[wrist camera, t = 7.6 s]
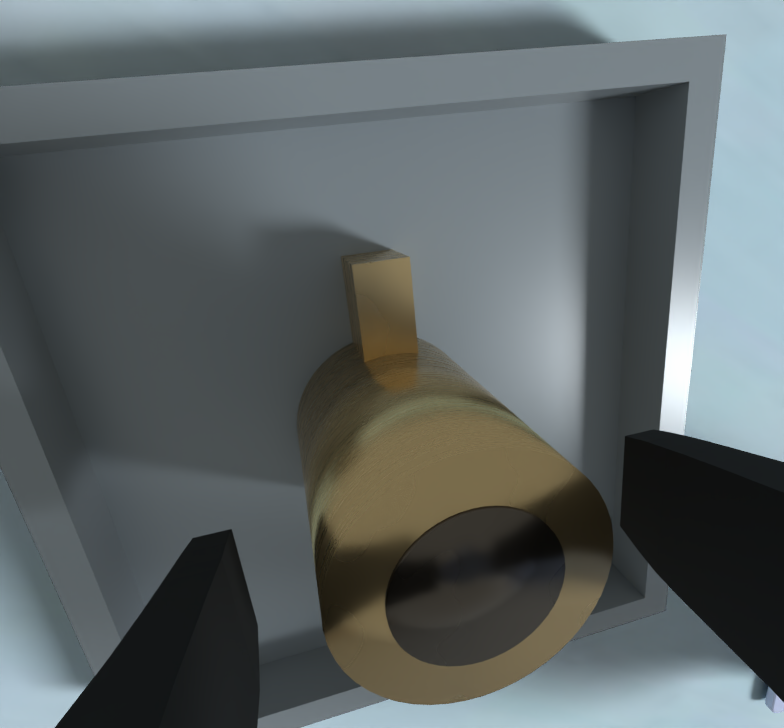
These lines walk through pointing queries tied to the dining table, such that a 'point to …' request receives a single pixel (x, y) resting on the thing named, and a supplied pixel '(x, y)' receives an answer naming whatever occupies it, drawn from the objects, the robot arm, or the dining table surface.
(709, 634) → the dining table surface
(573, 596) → the brass short cylinder
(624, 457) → the robot arm
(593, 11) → the dining table surface
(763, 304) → the dining table surface
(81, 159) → the tray
